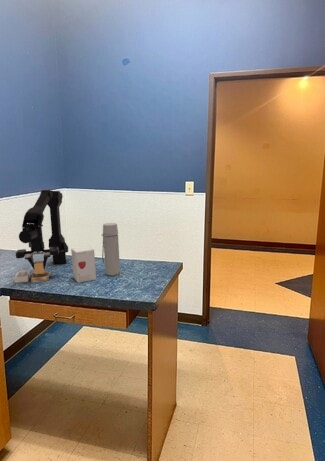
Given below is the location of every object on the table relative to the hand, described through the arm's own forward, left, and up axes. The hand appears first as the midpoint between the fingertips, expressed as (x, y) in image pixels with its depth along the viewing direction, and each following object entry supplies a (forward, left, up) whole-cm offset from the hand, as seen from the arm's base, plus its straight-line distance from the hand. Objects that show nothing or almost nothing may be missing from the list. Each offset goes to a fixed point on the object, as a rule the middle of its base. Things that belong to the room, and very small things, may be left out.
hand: (39, 269), depth 159 cm
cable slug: (+8, -2, -5) cm, 10 cm away
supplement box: (-20, +7, -5) cm, 22 cm away
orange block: (0, 0, -1) cm, 1 cm away
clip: (+8, -2, -5) cm, 10 cm away
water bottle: (-33, +4, -5) cm, 34 cm away
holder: (0, 0, -5) cm, 5 cm away
